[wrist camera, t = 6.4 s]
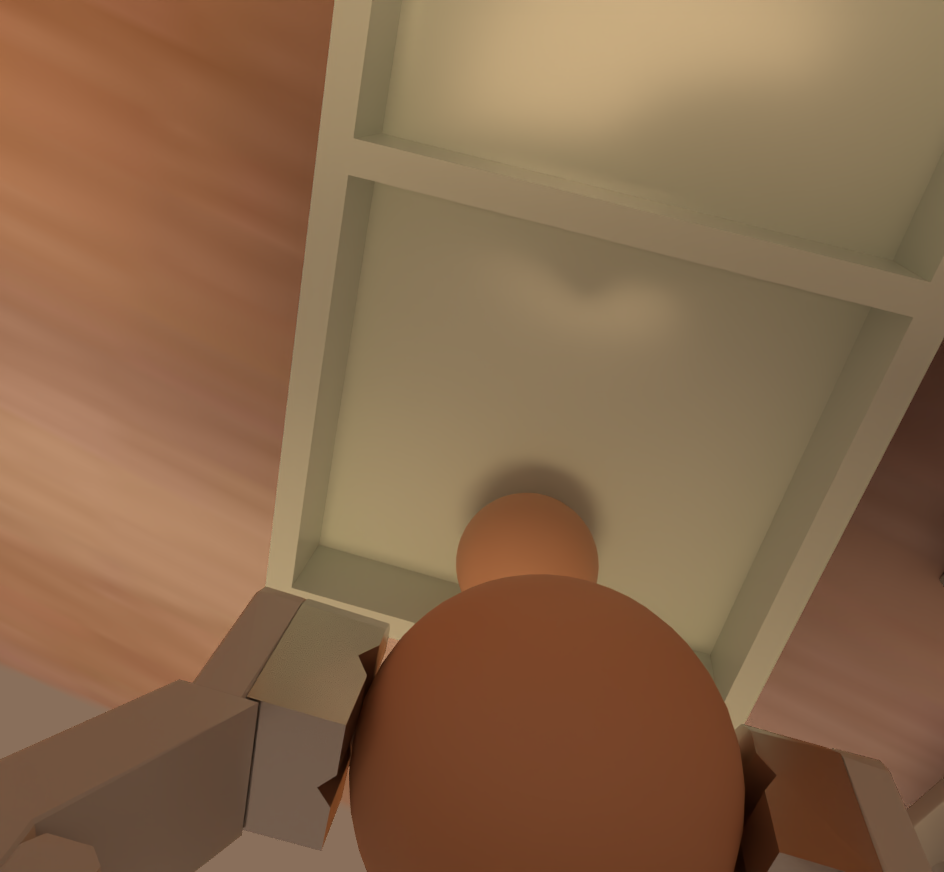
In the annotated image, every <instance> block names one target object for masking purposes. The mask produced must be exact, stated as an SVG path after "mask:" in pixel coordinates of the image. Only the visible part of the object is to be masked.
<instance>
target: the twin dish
mask: <svg viewBox="0 0 944 872" xmlns="http://www.w3.org/2000/svg"><path fill="white" fill-rule="evenodd" d="M943 339H944V0H335V2H334V10H333V19H332V27H331V36H330V44H329V53H328V61H327V69H326V78H325V86H324V95H323V103H322V112H321V120H320V129H319V137H318V146H317V154H316V162H315V171H314V179H313V188H312V196H311V205H310V213H309V222H308V230H307V238H306V247H305V255H304V264H303V272H302V281H301V289H300V298H299V306H298V315H297V323H296V331H295V340H294V348H293V357H292V365H291V374H290V382H289V391H288V399H287V408H286V416H285V424H284V433H283V441H282V450H281V458H280V467H279V475H278V484H277V492H276V500H275V509H274V517H273V526H272V534H271V543H270V551H269V560H268V568H267V577H266V585H265V587H266V586H267V587H270V588H273V589H276V590H280V591H283V592H286V593H289V594H293V595H296V596H299V597H302V598H305V599H311V600H315V601H318V602H321V603H324V604H328V605H331V606H334V607H337V608H340V609H344V610H347V611H350V612H353V613H357V614H360V615H363V616H366V617H370V618H373V619H376V620H379V621H382V622H386V623H389V624H390V631H389V638H392V639H396V640H400V639H401V638H402V636H403V635H404V634H405V633H406V632H407V631H408V630H409V629H410V628H411V627H412V626H413V625H414V624H415V623H417V622H418V621H419V620H420V619H421V618H422V617H423V616H424V615H426V614H427V613H428V612H429V611H431V610H432V609H434V608H435V607H436V606H438V605H439V604H441V603H442V602H444V601H446V600H447V599H449V598H451V597H453V596H455V595H457V594H459V593H461V590H460V586H459V583H458V579H457V573H456V555H457V550H458V545H459V542H460V539H461V536H462V534H463V532H464V530H465V528H466V526H467V525H468V523H469V522H470V521H471V519H472V518H473V517H474V516H475V515H476V514H477V513H478V512H479V511H480V510H481V509H482V508H484V507H485V506H486V505H488V504H489V503H491V502H493V501H494V500H496V499H499V498H501V497H503V496H507V495H511V494H517V493H538V494H542V495H546V496H549V497H552V498H554V499H557V500H559V501H561V502H562V503H564V504H565V505H567V506H569V507H570V508H571V509H572V510H574V511H575V512H576V513H577V514H578V515H579V516H580V517H581V519H582V520H583V521H584V523H585V524H586V525H587V527H588V528H589V530H590V532H591V534H592V536H593V539H594V542H595V545H596V548H597V553H598V562H599V570H598V579H597V584H600V585H603V586H606V587H609V588H611V589H613V590H615V591H618V592H620V593H622V594H624V595H626V596H628V597H630V598H632V599H633V600H635V601H637V602H638V603H640V604H642V605H643V606H645V607H647V608H648V609H649V610H650V611H652V612H653V613H654V614H655V615H657V616H658V617H659V618H660V619H662V620H663V621H664V622H665V623H667V624H668V625H669V626H670V627H672V628H673V629H674V630H675V631H676V632H677V633H678V634H679V635H680V636H681V637H682V639H683V640H684V641H685V642H686V643H687V644H688V645H689V646H690V648H691V649H692V650H693V651H694V653H695V654H696V655H697V657H698V658H699V659H700V661H701V662H702V664H703V665H704V666H705V668H706V669H707V670H708V672H709V673H710V675H711V677H712V679H713V681H714V683H715V685H716V687H717V689H718V690H719V692H720V694H721V696H722V698H723V700H724V702H725V704H726V706H727V708H728V712H729V715H730V718H731V721H732V724H733V727H734V730H735V729H736V728H737V727H738V726H739V725H741V724H745V722H746V720H747V718H748V716H749V714H750V712H751V711H752V709H753V707H754V705H755V703H756V701H757V699H758V697H759V695H760V693H761V691H762V689H763V687H764V685H765V683H766V681H767V680H768V678H769V676H770V674H771V672H772V670H773V668H774V666H775V664H776V662H777V660H778V658H779V656H780V654H781V652H782V650H783V649H784V647H785V645H786V643H787V641H788V639H789V637H790V635H791V633H792V631H793V629H794V627H795V625H796V623H797V621H798V619H799V618H800V616H801V614H802V612H803V610H804V608H805V606H806V604H807V602H808V600H809V598H810V596H811V594H812V592H813V590H814V588H815V587H816V585H817V583H818V581H819V579H820V577H821V575H822V573H823V571H824V569H825V567H826V565H827V563H828V561H829V559H830V558H831V556H832V554H833V552H834V550H835V548H836V546H837V544H838V542H839V540H840V538H841V536H842V534H843V532H844V530H845V528H846V527H847V525H848V523H849V521H850V519H851V517H852V515H853V513H854V511H855V509H856V507H857V505H858V503H859V501H860V499H861V497H862V496H863V494H864V492H865V490H866V488H867V486H868V484H869V482H870V480H871V478H872V476H873V474H874V472H875V470H876V468H877V466H878V465H879V463H880V461H881V459H882V457H883V455H884V453H885V451H886V449H887V447H888V445H889V443H890V441H891V439H892V437H893V435H894V434H895V432H896V430H897V428H898V426H899V424H900V422H901V420H902V418H903V416H904V414H905V412H906V410H907V408H908V406H909V404H910V403H911V401H912V399H913V397H914V395H915V393H916V391H917V389H918V387H919V385H920V383H921V381H922V379H923V377H924V375H925V373H926V372H927V370H928V368H929V366H930V364H931V362H932V360H933V358H934V356H935V354H936V352H937V350H938V348H939V346H940V344H941V342H942V341H943Z"/></svg>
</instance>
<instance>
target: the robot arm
mask: <svg viewBox="0 0 944 872" xmlns="http://www.w3.org/2000/svg"><path fill="white" fill-rule="evenodd" d="M389 631H390V624H389V623H386V622H382V621H379V620H376V619H373V618H370V617H366V616H363V615H360V614H357V613H353V612H350V611H347V610H344V609H340V608H337V607H334V606H331V605H328V604H324V603H321V602H318V601H315V600H311V599H305V598H302V597H299V596H296V595H293V594H289V593H286V592H283V591H280V590H276V589H273V588H270V587H267V586H266V587H264V588H263V589H261V590H260V591H258V592H257V593H256V594H255V595H254V597H253V598H252V599H251V601H250V602H249V604H248V605H247V607H246V608H245V609H244V611H243V612H242V614H241V615H240V616H239V618H238V619H237V621H236V622H235V623H234V625H233V626H232V628H231V629H230V631H229V632H228V633H227V635H226V636H225V638H224V639H223V640H222V642H221V643H220V645H219V646H218V648H217V649H216V650H215V652H214V653H213V655H212V656H211V657H210V659H209V660H208V662H207V663H206V665H205V666H204V667H203V669H202V670H201V672H200V673H199V674H198V676H197V677H196V679H195V680H194V681H193V683H191V682H187V681H183V680H180V679H179V680H177V681H174V682H172V683H170V684H168V685H165V686H163V687H161V688H159V689H156V690H154V691H152V692H150V693H147V694H145V695H143V696H141V697H139V698H136V699H134V700H132V701H130V702H127V703H125V704H123V705H121V706H118V707H116V708H114V709H112V710H109V711H107V712H105V713H103V714H101V715H98V716H96V717H94V718H92V719H89V720H87V721H85V722H83V723H81V724H79V725H76V726H74V727H72V728H69V729H67V730H65V731H63V732H61V733H58V734H56V735H54V736H51V737H49V738H47V739H45V740H42V741H40V742H38V743H36V744H34V745H32V746H29V747H27V748H25V749H22V750H20V751H18V752H16V753H13V754H11V755H9V756H7V757H4V758H2V759H0V872H195V871H196V870H198V869H199V868H200V867H201V866H203V865H204V864H205V863H207V862H208V861H209V860H210V859H212V858H213V857H214V856H216V855H217V854H218V853H219V852H221V851H222V850H223V849H224V848H226V847H227V846H228V845H230V844H231V843H232V842H233V841H235V840H236V839H237V838H239V837H240V836H241V835H242V830H246V831H250V832H253V833H257V834H261V835H264V836H268V837H271V838H275V839H279V840H283V841H287V842H290V843H294V844H298V845H301V846H305V847H309V848H312V849H316V850H320V851H321V850H322V847H323V845H324V843H325V840H326V837H327V835H328V832H329V830H330V827H331V824H332V822H333V819H334V817H335V814H336V811H337V808H338V806H339V804H340V801H341V798H342V795H343V790H344V786H345V781H346V776H347V772H348V767H349V766H350V761H351V752H352V745H353V737H354V732H355V729H356V726H357V724H358V719H359V715H360V712H361V709H362V705H363V702H364V699H365V696H366V694H367V692H368V690H369V688H370V686H371V684H372V682H373V680H374V678H375V676H376V674H377V672H378V670H379V668H380V665H381V662H382V660H383V657H384V654H385V652H386V647H387V642H388V637H389ZM735 733H736V737H737V740H738V743H739V747H740V753H741V760H742V767H743V775H744V783H745V803H744V824H743V834H742V838H741V843H740V847H739V851H738V856H737V860H736V864H735V868H734V872H933V871H932V869H931V867H930V864H929V862H928V860H927V857H926V855H925V853H924V850H923V848H922V846H921V843H920V841H919V839H918V836H917V834H916V832H915V829H914V827H913V825H912V822H911V820H910V818H909V815H908V813H907V811H906V808H905V806H904V804H903V801H902V799H901V797H900V794H899V792H898V789H897V787H896V785H895V782H894V780H893V778H892V775H891V773H890V771H889V770H888V768H887V767H886V766H885V765H884V764H883V763H882V762H881V761H880V760H876V759H872V758H868V757H865V756H861V755H857V754H853V753H849V752H846V751H842V750H838V749H834V748H833V749H829V748H827V747H823V746H820V745H816V744H812V743H809V742H805V741H802V740H798V739H794V738H791V737H787V736H784V735H780V734H776V733H773V732H769V731H766V730H762V729H758V728H755V727H751V726H748V725H744V724H741V725H739V726H738V727H737V728H736V729H735Z"/></svg>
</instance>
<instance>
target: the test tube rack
mask: <svg viewBox="0 0 944 872" xmlns="http://www.w3.org/2000/svg"><path fill="white" fill-rule="evenodd" d="M906 811H907V813H908V815H909V818H910V820H911V822H912V825H913V827H914V829H915V832H916V834H917V836H918V839H919V841H920V843H921V846H922V848H923V850H924V853H925V855H926V857H927V860H928V862H929V864H930V867H931V869H932V871H933V872H944V778H942V779H941V780H940V781H939V782H938V783H937V784H936V785H934V786H933V787H932V788H931V789H930V790H929V791H928V792H926V793H925V794H924V795H923V796H922V797H921V798H920V799H918V800H917V801H916V802H915V803H914V804H913V805H912V806H910V807H909V808H908V809H907V810H906Z"/></svg>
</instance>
